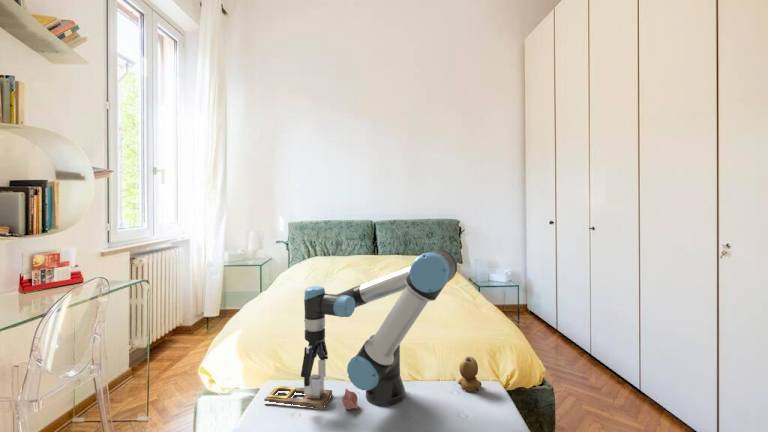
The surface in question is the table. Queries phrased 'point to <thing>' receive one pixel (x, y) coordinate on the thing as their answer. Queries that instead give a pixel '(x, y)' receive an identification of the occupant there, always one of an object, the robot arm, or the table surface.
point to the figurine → (469, 375)
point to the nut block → (317, 387)
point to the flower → (349, 400)
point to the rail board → (297, 401)
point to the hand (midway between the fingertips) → (315, 384)
